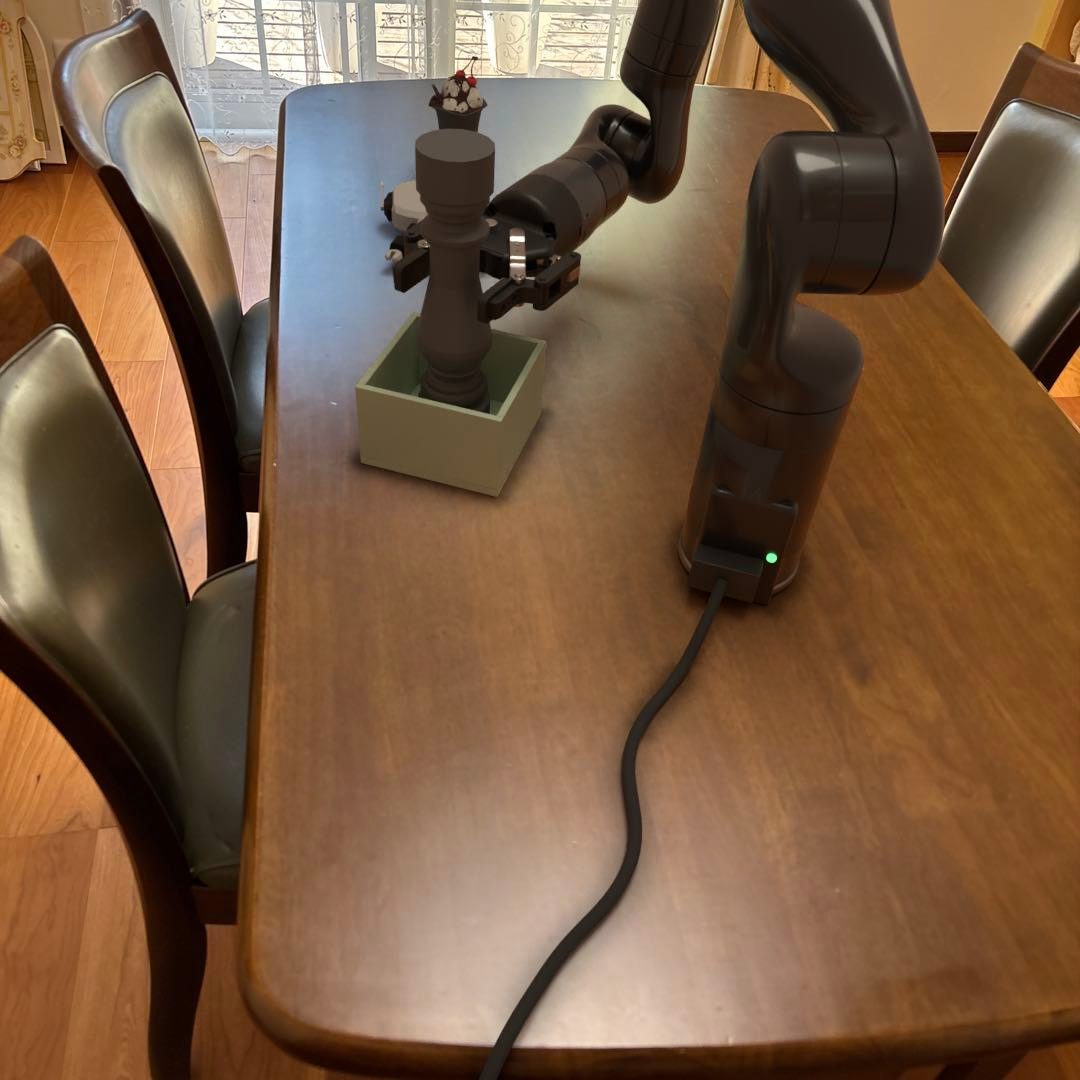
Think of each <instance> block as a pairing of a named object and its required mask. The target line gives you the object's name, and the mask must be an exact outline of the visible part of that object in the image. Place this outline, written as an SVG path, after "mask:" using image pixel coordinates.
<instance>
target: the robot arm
mask: <svg viewBox="0 0 1080 1080" xmlns="http://www.w3.org/2000/svg"><path fill="white" fill-rule="evenodd" d="M741 1H742V2H741V3H742V9H743V10H742V11H743V14H744V18H745V22H746V24H747V27H748V30H749V32H750V35H752V37H753V39H754V41H755V43H756V44H757V46H758V47H759V49H760V50H761V52H762V53H763V54H764V55H765V57H767V58H768V60H769V61H770V62H771V63H772V64H773V66H774V67H775V68H776V69H777V70H778V71H779V72H780V73H781V74H782V75H783V76H784V77H785V78H786V79H787V80H788V81H789V82H790V83H791V84H792V85H793V87H795V88H796V89H797V90H798V91H799V92H800V93H802V95H803V96H804V97H805V98H806V99H808V101H810V102H811V103H812V104H813V106H814V107H815V108H816V109H817V110H818V111H819V112H820V113H821V114H822V115H823V117H824V118H825V120H826V121H827V123H829V125H830V127H831V129H832V130H833V131H831V130H829V131H828V130H827V131H826V130H808V129H807V130H806V129H804V130H803V129H800V130H798V129H797V130H795V129H790V130H784V131H780V132H777V133H776V134H774V135H772V136H770V139H768V140H767V142H766V143H765V144H764V146H763V147H762V149H761V151H760V153H759V155H758V157H757V160H756V162H755V164H754V167H753V170H752V174H751V176H750V177H751V178H750V181H749V185H748V190H747V197H746V202H745V208H744V214H743V219H742V220H743V221H742V227H741V234H740V242H739V246H738V247H739V248H738V254H737V260H736V267H735V273H734V278H733V283H732V289H731V293H730V297H729V302H728V309H727V315H726V323H725V330H724V336H723V342H722V347H721V352H720V357H719V362H718V365H717V366H718V367H717V370H716V375H715V380H714V385H713V389H712V394H711V397H710V401H709V407H708V411H707V417H706V420H705V424H704V430H703V433H702V439H701V443H700V448H699V452H698V456H697V462H696V466H695V470H694V475H693V480H692V485H691V487H690V491H689V498H688V503H687V507H686V512H685V516H684V517H685V518H684V521H683V527H682V528H681V531H680V535H679V539H678V544H677V553H678V556H679V561H680V562H681V564H682V565H683V567H684V569H685V570H686V571H687V573H688V578H687V583H686V587H688V588H693V589H696V590H700V591H702V592H707V593H711V594H710V596H709V598H708V600H707V603H706V605H705V608H704V610H703V612H702V615H701V617H700V619H699V621H698V624H697V625H696V628H695V630H694V632H693V634H692V636H691V638H690V639H689V640H690V641H689V643H688V644H687V645H686V648H685V650H684V652H683V654H682V656H681V657H680V660H679V661H678V662H677V664H676V666H675V668H674V669H673V670H672V672H671V673H670V675H669V676H668V677H667V678H666V680H665V681H664V682H663V684H662V685H661V686H660V688H658V690H657V691H656V692H655V694H653V695H652V697H651V698H650V699H649V700H648V701H647V702H646V704H645V705H644V706H643V707H642V709H641V710H640V711H639V713H638V715H637V717H636V718H635V720H634V721H633V723H632V725H631V727H630V730H629V733H628V735H627V738H626V740H625V746H624V748H623V753H622V761H621V777H622V789H623V797H624V802H625V803H624V804H625V809H626V819H627V841H626V842H627V843H626V850H625V853H624V857H623V860H622V862H621V865H620V868H619V870H618V872H617V874H616V876H615V878H614V879H613V881H612V883H611V885H610V886H609V887H608V889H607V890H606V891H605V893H604V894H603V895H602V897H601V898H600V899H599V900H598V901H597V903H596V904H595V905H594V906H593V907H592V908H591V909H590V910H589V911H588V912H587V913H586V914H585V915H584V916H583V917H582V918H581V919H580V920H579V921H578V922H577V923H576V924H575V925H574V926H573V928H571V929H570V930H569V932H568V933H567V934H566V935H565V936H564V937H563V938H562V939H561V940H560V942H559V943H558V944H557V945H556V947H555V948H554V949H553V950H552V951H551V952H550V954H549V956H548V957H547V959H546V960H545V961H544V963H543V964H542V966H541V967H540V969H539V970H538V972H537V973H536V974H535V976H534V978H533V979H532V980H531V982H530V983H529V985H528V987H527V989H526V990H525V991H524V993H523V994H522V995H521V996H522V997H521V998H520V999H519V1000H518V1002H517V1004H516V1005H515V1007H514V1009H513V1010H512V1012H511V1014H510V1016H509V1018H508V1019H507V1021H506V1023H505V1025H504V1026H503V1027H502V1030H501V1032H500V1033H499V1035H498V1037H497V1039H496V1041H495V1043H494V1045H493V1047H492V1048H491V1051H490V1053H489V1055H488V1058H487V1059H486V1062H485V1064H484V1066H483V1068H482V1071H481V1073H480V1075H479V1077H478V1080H498V1077H499V1076H500V1073H501V1070H502V1069H503V1066H504V1064H505V1062H506V1060H507V1058H508V1057H509V1054H510V1052H511V1050H512V1048H513V1046H514V1045H515V1042H516V1040H517V1039H518V1038H519V1037H518V1036H519V1035H520V1033H521V1031H522V1030H523V1028H524V1026H525V1024H526V1022H527V1021H528V1019H529V1018H530V1016H531V1014H532V1012H533V1011H534V1009H535V1008H536V1006H537V1005H538V1003H539V1001H540V999H541V998H542V996H543V995H544V993H545V992H546V990H547V988H549V986H550V985H551V982H552V981H553V979H554V978H555V977H556V975H557V973H558V972H559V971H560V969H561V968H562V966H563V965H564V964H565V962H566V961H567V959H568V958H569V957H570V956H571V955H572V954H573V952H574V951H576V950H577V948H578V947H579V946H580V944H581V943H582V942H583V941H584V940H585V939H586V938H587V937H588V936H589V935H590V934H591V933H592V932H593V931H594V930H595V929H596V928H597V927H598V925H599V924H600V923H601V922H602V921H603V920H604V919H605V918H606V917H607V916H608V915H609V913H610V912H611V911H612V910H613V909H614V908H615V906H616V905H617V904H618V902H619V901H620V899H621V898H622V896H623V895H624V893H625V891H626V889H627V888H628V886H629V885H630V882H631V880H632V878H633V876H634V873H635V871H636V868H637V866H638V863H639V858H640V855H641V850H642V843H643V821H642V820H643V818H642V812H641V811H642V810H641V804H640V798H639V791H638V785H637V776H636V763H637V753H638V750H639V745H640V742H641V739H642V736H643V734H644V732H645V730H646V728H647V726H648V725H649V723H650V722H651V720H652V719H653V717H654V716H655V714H656V713H657V712H658V711H659V709H660V708H661V707H662V706H663V705H664V703H666V701H667V700H668V699H669V698H670V696H672V695H673V693H674V692H675V690H676V689H677V688H678V686H679V685H680V684H681V682H682V681H683V679H684V678H685V676H686V674H687V673H688V672H689V670H690V668H691V667H692V664H693V662H694V661H695V659H696V657H697V656H698V654H699V652H700V649H701V647H702V645H703V643H704V641H705V640H706V637H707V635H708V633H709V630H710V628H711V627H712V625H713V622H714V619H715V617H716V615H717V612H718V610H719V607H720V605H721V603H722V600H723V597H727V598H731V599H735V600H739V601H742V602H746V603H751V604H752V603H753V602H754V603H757V604H762V605H769V604H770V602H771V598H772V596H773V595H775V594H777V593H780V592H781V591H783V590H784V589H786V588H787V587H788V586H789V585H790V584H791V583H792V582H793V580H794V579H795V577H796V575H797V571H798V569H799V567H800V566H799V565H800V561H801V556H802V552H803V551H804V550H803V549H804V547H805V544H806V540H807V537H808V534H809V531H810V528H811V525H812V522H813V519H814V516H815V513H816V510H817V506H818V503H819V501H820V497H821V494H822V492H823V489H824V486H825V483H826V479H827V477H828V473H829V471H830V468H831V464H832V462H833V459H834V455H835V452H836V450H837V446H838V444H839V441H840V437H841V434H842V432H843V429H844V426H845V423H846V420H847V417H848V414H849V411H850V408H851V405H852V402H853V399H854V396H855V394H856V391H857V388H858V387H859V386H858V385H859V382H860V379H861V376H862V373H863V369H864V364H865V355H864V349H863V347H862V344H861V342H860V340H859V339H858V337H857V336H856V335H855V333H854V332H853V331H852V330H851V329H850V328H849V327H847V325H845V324H844V323H842V322H841V321H840V320H838V319H837V318H835V317H833V316H832V315H831V314H828V313H826V312H824V311H822V310H820V309H817V308H815V307H813V306H810V305H808V304H805V303H803V302H801V301H799V300H797V298H798V297H799V295H800V294H804V295H805V294H809V295H836V296H840V295H841V296H873V297H875V296H888V295H890V296H891V295H897V294H903V293H906V292H909V291H911V290H913V289H914V288H916V287H918V286H920V285H921V284H922V283H924V281H925V280H926V278H928V276H929V275H930V274H931V272H932V270H933V269H934V266H935V265H936V262H937V260H938V257H939V254H940V251H941V246H942V242H943V238H944V232H945V221H946V220H945V217H946V204H945V202H946V201H945V191H944V181H943V176H942V170H941V166H940V162H939V158H938V154H937V150H936V146H935V144H934V140H933V138H932V135H931V131H930V130H929V126H928V122H927V120H926V117H925V114H924V112H923V109H922V106H921V103H920V101H919V98H918V95H917V92H916V90H915V86H914V84H913V81H912V79H911V76H910V73H909V70H908V67H907V63H906V60H905V57H904V54H903V50H902V47H901V44H900V40H899V35H898V32H897V28H896V23H895V19H894V14H893V10H892V9H893V8H892V4H891V0H741ZM720 4H721V0H639V2H638V6H637V9H636V12H635V14H634V18H633V22H632V25H631V28H630V31H629V35H628V37H627V41H626V45H625V47H624V51H623V54H622V57H621V62H620V66H619V77H620V80H621V81H620V82H621V83H622V84H623V85H624V87H625V88H626V89H627V90H628V91H629V92H630V93H631V94H632V95H634V96H635V97H636V99H638V100H639V101H640V102H641V103H642V105H643V106H644V107H645V108H646V110H647V112H648V116H649V118H647V117H645V116H644V115H641V114H639V113H638V112H636V111H634V110H632V109H630V108H628V107H626V106H624V105H620V104H615V103H614V104H613V103H610V104H603V105H600V106H598V107H596V108H595V109H594V110H592V112H591V113H590V114H589V116H588V117H587V119H586V120H585V122H584V123H583V126H582V128H581V130H580V132H579V134H578V136H577V137H576V139H575V140H574V142H573V143H572V145H571V146H570V147H569V149H568V150H567V151H565V152H564V153H562V154H561V155H559V156H558V157H556V158H554V159H553V160H552V161H550V162H548V163H545V164H542V165H540V166H539V167H537V168H535V169H534V170H532V171H531V172H529V173H528V174H526V175H525V176H523V177H521V178H520V179H518V180H517V181H516V182H514V183H512V184H511V185H509V186H508V187H507V188H505V189H504V190H502V191H501V192H499V193H498V194H497V195H495V196H493V198H492V199H490V202H489V204H488V206H487V207H486V209H485V211H484V214H483V215H482V217H483V218H484V219H485V220H486V221H487V222H488V223H489V237H488V238H487V239H486V240H485V242H484V243H483V244H482V245H481V246H480V269H479V273H482V274H485V275H488V276H490V277H491V278H494V279H496V280H498V281H497V282H496V283H494V284H493V285H491V287H489V288H488V289H487V290H485V291H483V294H482V295H481V296H480V297H479V299H478V304H477V320H478V321H479V322H482V323H485V324H488V323H489V322H490V323H491V322H492V321H497V320H500V319H502V318H503V317H504V316H505V315H506V314H507V313H509V312H510V311H511V310H512V309H514V308H521V307H523V306H524V305H525V304H528V305H529V304H530V305H532V308H533V310H535V311H538V312H544V311H547V310H548V309H549V308H550V307H552V306H553V305H554V304H555V303H557V302H558V301H559V300H560V299H562V298H563V297H565V295H567V294H568V293H570V292H571V291H572V290H573V289H574V288H576V287H577V286H578V285H579V283H580V274H581V266H582V265H581V262H582V254H581V253H580V252H577V251H576V250H577V249H578V248H580V247H581V246H582V245H584V243H585V242H586V241H588V240H589V239H590V238H591V236H592V235H593V234H594V233H595V231H597V229H598V228H599V227H601V226H602V225H603V224H605V223H606V222H607V221H608V220H609V219H611V218H612V217H613V216H614V215H616V214H617V213H618V212H619V211H620V209H621V208H622V207H623V206H624V205H625V203H626V201H627V199H628V198H631V199H634V200H635V201H637V202H640V203H641V204H642V203H643V204H647V205H653V204H657V203H660V202H661V201H663V200H665V199H666V198H667V197H669V196H671V194H672V192H673V191H675V189H676V187H677V185H678V184H679V182H680V180H681V178H682V174H683V171H684V167H685V163H686V156H687V150H688V149H687V148H688V147H687V146H688V134H689V121H690V113H691V106H692V99H693V93H694V89H695V84H696V81H697V78H698V76H699V73H700V70H701V67H702V64H703V61H704V59H705V55H706V53H707V51H708V47H709V45H710V42H711V41H712V37H713V34H714V31H715V28H716V25H717V21H718V16H719V11H720ZM422 220H423V219H422ZM422 220H421V221H422ZM421 221H419V222H418V223H417V224H415V225H414V226H412V227H411V228H409V229H408V230H407V231H405V232H403V235H404V252H405V257H403V258H402V259H400V260H399V261H397V262H394V264H393V265H392V275H393V276H392V277H393V287H394V290H395V291H397V292H400V293H402V294H405V293H407V292H408V291H410V290H411V289H413V288H415V286H417V285H418V284H419V283H421V282H422V281H423V280H425V279H426V278H429V277H430V245H429V244H428V243H427V241H426V240H425V239H424V238H423V237H422V236H421V233H420V222H421ZM531 278H534V279H531Z"/></svg>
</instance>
